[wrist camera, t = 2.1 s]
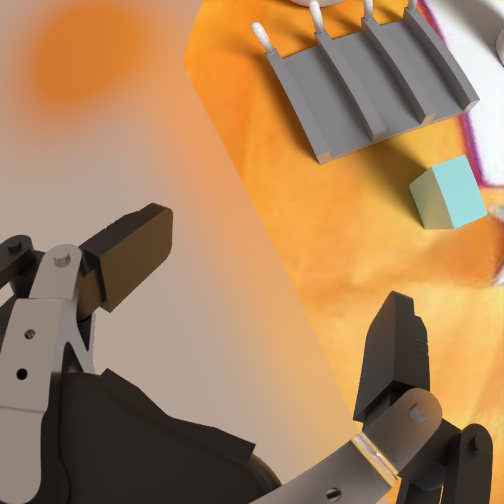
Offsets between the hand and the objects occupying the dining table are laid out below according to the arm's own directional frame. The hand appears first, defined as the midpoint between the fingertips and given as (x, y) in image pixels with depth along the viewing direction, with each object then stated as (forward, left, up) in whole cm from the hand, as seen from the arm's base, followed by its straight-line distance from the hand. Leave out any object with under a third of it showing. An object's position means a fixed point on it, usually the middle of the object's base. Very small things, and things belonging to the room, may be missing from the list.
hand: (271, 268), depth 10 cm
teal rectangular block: (-13, 0, -23) cm, 26 cm away
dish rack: (-13, -15, -23) cm, 30 cm away
